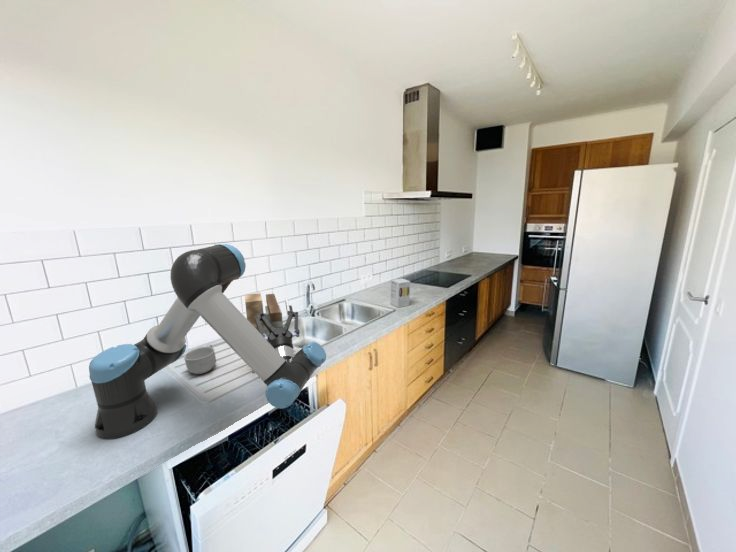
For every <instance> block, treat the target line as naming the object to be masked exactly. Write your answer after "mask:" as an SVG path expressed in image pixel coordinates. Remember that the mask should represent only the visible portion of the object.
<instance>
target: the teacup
mask: <svg viewBox="0 0 736 552" xmlns="http://www.w3.org/2000/svg"><path fill="white" fill-rule="evenodd" d="M183 360H184V362H185V365H186V366H185V367H186V368H187V370H188V372H189V373H191V374H194V375H201V374H206V373H208V372H209V371H211V370H212V369H213V368H214V366H215V365H216V361H217V359H216V353H215V348H214V346H213V344H207V345H205V346H201V347H196V348H194V349H191V350H189V351H188V352H186V353H184V354H183Z"/></svg>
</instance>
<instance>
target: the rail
mask: <svg viewBox="0 0 736 552" xmlns="http://www.w3.org/2000/svg"><path fill="white" fill-rule="evenodd" d="M265 299H266V300H265V301H266V302H265V303H266V306H267V307H268V311H269V315H270V319H271V322H278V321H281V312H282V311H281V312H280V309H281V308H280V309H279V306H280V305H279V304H278V301H277V298H276V294H275V293H266V294H265ZM278 305H279V306H278Z"/></svg>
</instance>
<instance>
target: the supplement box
mask: <svg viewBox="0 0 736 552" xmlns="http://www.w3.org/2000/svg"><path fill="white" fill-rule="evenodd" d="M410 292H411V281H410V280H407V279H406V278H395V279H391V281H390V300H389V301H390V304H391V305H392V306H395V307H396V308H403V307H408V306H410V295H411V293H410Z"/></svg>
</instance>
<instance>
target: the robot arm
mask: <svg viewBox="0 0 736 552" xmlns="http://www.w3.org/2000/svg"><path fill="white" fill-rule="evenodd" d="M245 261H246V260H245V257H244V256H243V254H242V252H241V251H240V250H239V248H237V247H235V246H234V245H231V244H227V243H223V244H221V243H220V244H219V243H218V244H215V245H212V246H211V245H210V246H206V247H202V248H198V249H192V250H191V249H190V250H188V251H185V252H183V253H182V254H180V255H179V256H177V258H176V259H175V260H174V261H173V263H172V265H171V269H170V277H169V278H170V282H171V283H170V284H171V286H172V289H173V291H174V293H175V296H176V297H177V298H176V299H175V301H174V302H173V303H172V305H171V306H170V308H169V310H168V311H167V313H165V315H164V317H162V320H161V321H160V323H159V324H157V325H154V326H152V327H151V328H150V329H149V330H148V331H147V332H146V335H144V337H143V338H142V340H140V341H138V342H136V343H134V344H133V343H132V344H131V343H130V344H129V343H126V344H125V343H124V344H119V345H117V346H114V347H113V346H111V347H110V348H108V349H105V350H102V351H101V352H100V353H98V354H96V355H95V356H94V357H93V358H92V359H91V360H90V362H89V365H88V372H89V376H88V377H89V380H90V382H91V385H92V388H93V389H92V390H93V393H94V397H95V400H96V404H97V411H96V417H95V422H94V431H95V434H96V436H97V437H99V438H101V439H107V440H109V439H110V440H111V439H117V438H118V439H119V438H122V437H125V436H128V435H130V434H133V433H135V432H137V431H139V430H141V429H143V428H144V427H146V426H147V425H148V424H149V423H151V422H152V421H153V420H154V419H155V418H156V416H157V414H158V408H157V403H156V401H155V400H154V399H153V397H152V396H151V395H150V394H149V392H148V391H147V389H146V388H147V387H146V382H145V381H146V380H147V379H149V378H150V377H152V376H153V375H155V374H157V373H158V372H159V371H161V370H163V369H165V368H166V367H168V366H169V365H170V364H171V365H172V364H174V363H175V362H177V361H178V360H179V359H180V358H181V357H182V356H184V355H185V352H186V350H187V344H186V343H187V339H186V336H187V335H188V333H189V332H190V331H191V329H192V328H193V326H194V325H195V324H196V322H197V321H198V319H199V318H200V317H201V318H202V319H203V320H204V322H206V323H207V324H208V325H209V326H210V327H211V328H212V329H213V331H215V333H216V334H217V335H218V336H219V337H220V338H221V339H222V340H223V341H224V342H225V343H226V344H227V345H228V346H229V347H230V348H231V350H233V352H235V354H236V355H237V356H238V357H239V358H241V360H242V362H244V363H245V364H246V365H247V366H248V367H249V368H250V369H251V371H252V370H253V371H254V372H255V373H254V374H255V375H257V377H258V378H259V379H260V380H262V382H263V383H264V384H265V385H266V386H267V387H266V389H265V397H266V400H267V402H268V403H269V404H270V405H271V406H272V407H274V408H277V409H286V408H288V407H290V406H292V404H293V402H295V400H296V399H297V398H298V397H299V395H300V393H301V391H302V390H303V388H304V387H305V385H306V384H307V383H308V381H309V379H310V378H311V376H313V374H314V372H315V371H316V370H317V369H318V368H321V366H322V365H323V364H324V363H325V362H326V360H327V353H326V350H325V348H324V347H323V346H321V344H320V343H318V342H315V341H311V342H308V343H307V344H306V345H303V347H302V348H301V349H299V350H298V351H297V352H296V353H295V350H294V344H293V338H294V337H296V338H299V337H300V334H301V333H300V329H299V312H298V311H293V305H292V304H291V305H289V300H288V299H289V298H287V297H286V298H285V302H284V303H285V308H286V315H287V318H286V322H285V324H284V325H283V327H281V328H274V327H273V326H272V325H271V324H270V323H269V321H268V320H267V318H266V311H265V306H266V304H265V303H266V302H265V300H264V299H262V306H263V308H261V309H260V316H256V317H255V321H256V325H257V328H258V330H257V329H256V328H255V327H254V326H253V325H252V324H251V323H250V322H249V321H248V320H247V317H246V316H245V315H244V314H243V313H242V312H241V311H240V310H239V309H238V308H237V307H236V306H235V305H234V304H233V302H232V301H230V299H229V298H228V297H227V296H226V295H225V294H224V293H225V292H226V290H227V289H228V287H230V286H231V283H232V282H233V281H236V280H239V278H241V277H242V276H243V275H244V273H245V271H246V262H245ZM293 318H294V329H293V331H292V332H291V331H290V330H289V329H290V326H291V323H292V320H293ZM260 321H262V323H263V324H264V325H265V327H266V328H267V329H268V331H269V333H270V334H269V336H268V337H267V336H266V335H265V334H264V332H263V328H262V325H261V322H260Z"/></svg>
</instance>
